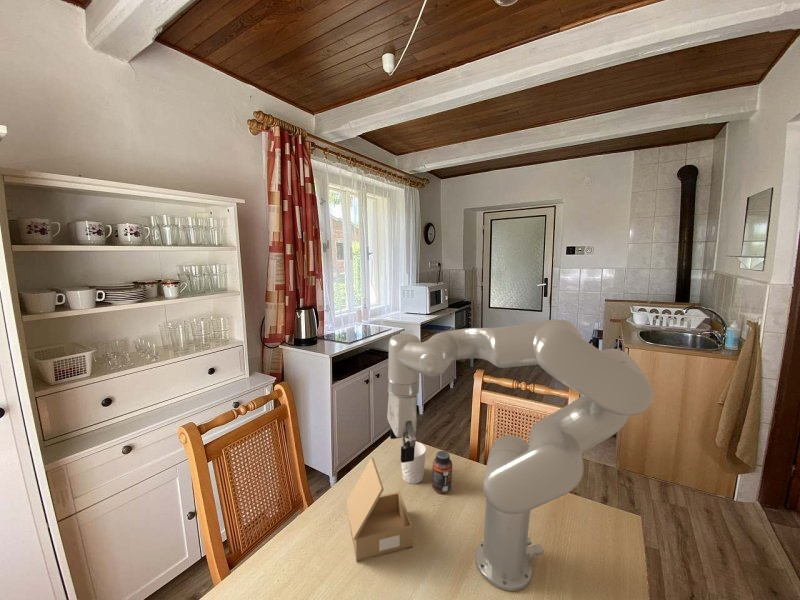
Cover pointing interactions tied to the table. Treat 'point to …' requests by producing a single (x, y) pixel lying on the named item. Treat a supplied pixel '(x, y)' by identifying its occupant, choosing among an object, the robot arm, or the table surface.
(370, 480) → the cardboard box lid
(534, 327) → the robot arm
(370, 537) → the carton
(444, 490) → the supplement bottle
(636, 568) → the table surface
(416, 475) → the white cup
